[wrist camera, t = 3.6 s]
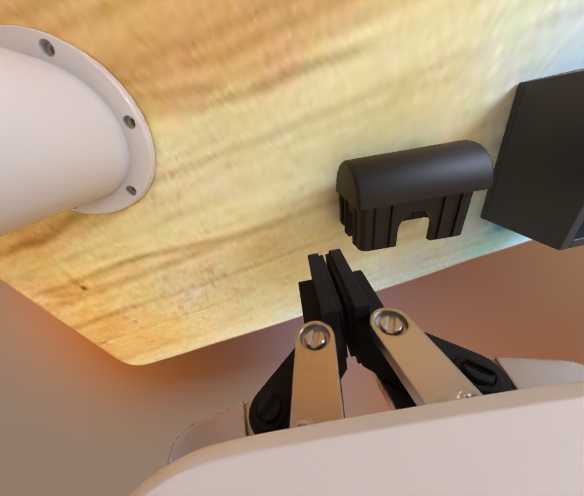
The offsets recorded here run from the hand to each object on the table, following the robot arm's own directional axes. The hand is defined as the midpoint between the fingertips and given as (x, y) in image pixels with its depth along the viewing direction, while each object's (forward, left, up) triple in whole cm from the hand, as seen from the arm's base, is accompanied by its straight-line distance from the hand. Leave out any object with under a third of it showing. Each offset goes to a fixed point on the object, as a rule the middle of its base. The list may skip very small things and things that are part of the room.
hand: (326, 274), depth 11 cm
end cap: (+9, 0, -12) cm, 15 cm away
